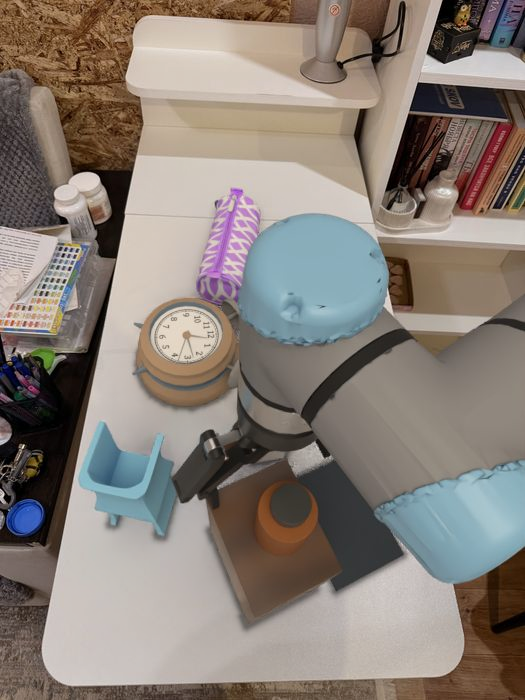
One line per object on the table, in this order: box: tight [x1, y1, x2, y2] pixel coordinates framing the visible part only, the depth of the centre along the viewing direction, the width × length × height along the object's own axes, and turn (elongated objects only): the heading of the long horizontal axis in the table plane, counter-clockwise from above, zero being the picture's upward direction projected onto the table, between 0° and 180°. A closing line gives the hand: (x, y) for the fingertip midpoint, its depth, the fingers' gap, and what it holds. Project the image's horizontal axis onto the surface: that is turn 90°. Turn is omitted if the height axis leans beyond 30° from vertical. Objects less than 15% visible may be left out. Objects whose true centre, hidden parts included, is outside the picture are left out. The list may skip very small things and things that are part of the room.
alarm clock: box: [131, 297, 239, 408], centre depth 82 cm, size 17×9×23 cm
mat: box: [296, 460, 405, 592], centre depth 74 cm, size 16×11×1 cm
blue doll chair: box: [77, 420, 177, 537], centre depth 65 cm, size 8×8×20 cm
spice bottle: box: [254, 481, 318, 556], centre depth 49 cm, size 6×6×11 cm
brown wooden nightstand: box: [204, 458, 343, 625], centre depth 62 cm, size 13×10×20 cm
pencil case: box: [195, 187, 262, 306], centre depth 93 cm, size 22×9×10 cm, turn 173°
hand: (268, 471), depth 57 cm, fingers open, 13 cm apart
